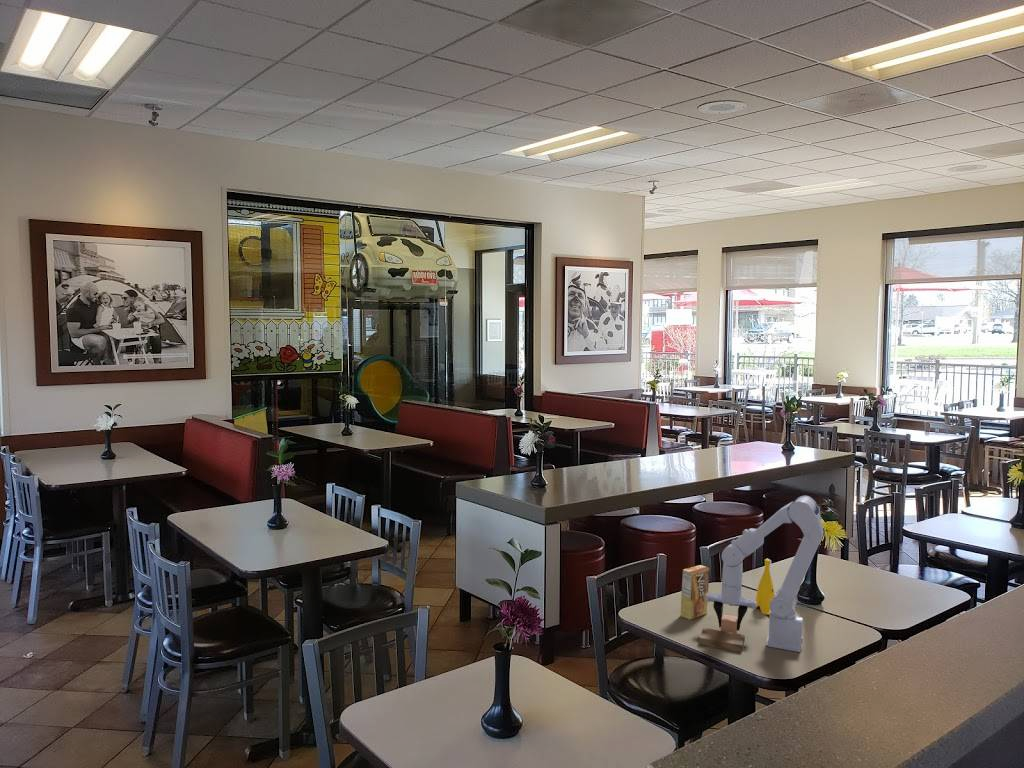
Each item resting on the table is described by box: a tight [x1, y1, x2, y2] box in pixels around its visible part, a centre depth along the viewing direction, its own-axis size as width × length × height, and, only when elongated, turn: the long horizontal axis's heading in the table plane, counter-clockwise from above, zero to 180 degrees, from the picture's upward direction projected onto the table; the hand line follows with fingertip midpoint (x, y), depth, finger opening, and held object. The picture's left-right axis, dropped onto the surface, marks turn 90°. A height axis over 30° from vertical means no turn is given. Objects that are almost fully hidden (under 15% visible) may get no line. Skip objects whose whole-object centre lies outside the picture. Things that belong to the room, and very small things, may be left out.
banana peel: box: [755, 558, 775, 616], centre depth 254 cm, size 17×19×17 cm
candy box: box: [679, 564, 711, 620], centre depth 245 cm, size 9×4×15 cm, turn 129°
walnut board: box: [698, 627, 746, 653], centre depth 225 cm, size 12×8×2 cm, turn 68°
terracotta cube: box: [720, 613, 738, 634], centre depth 233 cm, size 4×4×4 cm
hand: (729, 627), depth 233 cm, fingers closed on terracotta cube, 4 cm apart
